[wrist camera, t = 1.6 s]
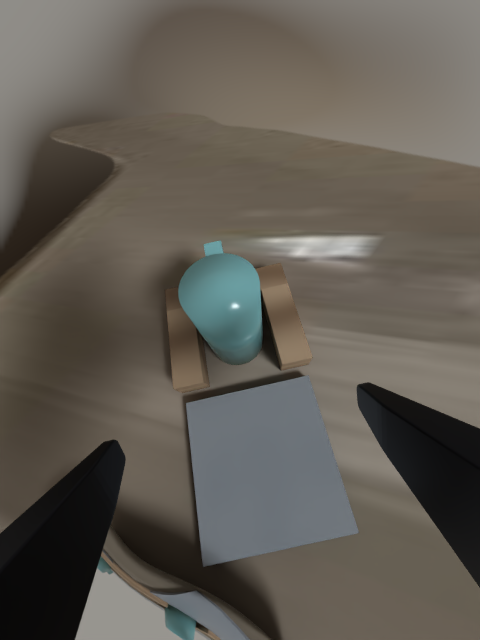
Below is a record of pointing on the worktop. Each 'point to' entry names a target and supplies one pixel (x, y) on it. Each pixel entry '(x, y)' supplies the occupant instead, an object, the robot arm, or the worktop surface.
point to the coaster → (264, 472)
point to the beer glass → (154, 604)
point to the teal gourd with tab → (224, 304)
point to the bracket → (281, 322)
